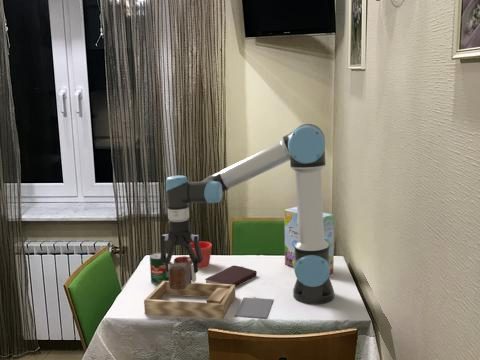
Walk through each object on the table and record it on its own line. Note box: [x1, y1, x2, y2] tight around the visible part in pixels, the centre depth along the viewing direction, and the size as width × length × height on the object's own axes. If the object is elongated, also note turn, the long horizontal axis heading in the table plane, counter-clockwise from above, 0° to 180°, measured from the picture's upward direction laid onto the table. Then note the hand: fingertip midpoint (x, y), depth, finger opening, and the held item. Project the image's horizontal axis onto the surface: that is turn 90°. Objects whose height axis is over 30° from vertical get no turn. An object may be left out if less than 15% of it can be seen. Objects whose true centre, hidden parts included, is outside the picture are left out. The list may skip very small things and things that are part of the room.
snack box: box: [283, 206, 335, 275], centre depth 221 cm, size 22×9×26 cm, turn 42°
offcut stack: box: [206, 288, 229, 304], centre depth 185 cm, size 6×15×5 cm, turn 168°
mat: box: [234, 297, 274, 319], centre depth 184 cm, size 11×16×1 cm
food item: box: [168, 255, 193, 289], centre depth 186 cm, size 14×8×10 cm, turn 173°
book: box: [204, 265, 258, 288], centre depth 212 cm, size 12×19×3 cm, turn 144°
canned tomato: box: [149, 252, 169, 285], centre depth 212 cm, size 8×8×11 cm
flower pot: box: [188, 241, 213, 269], centre depth 230 cm, size 11×11×10 cm
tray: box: [143, 281, 236, 320], centre depth 187 cm, size 28×19×5 cm
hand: (182, 280), depth 186 cm, fingers closed on food item, 8 cm apart
